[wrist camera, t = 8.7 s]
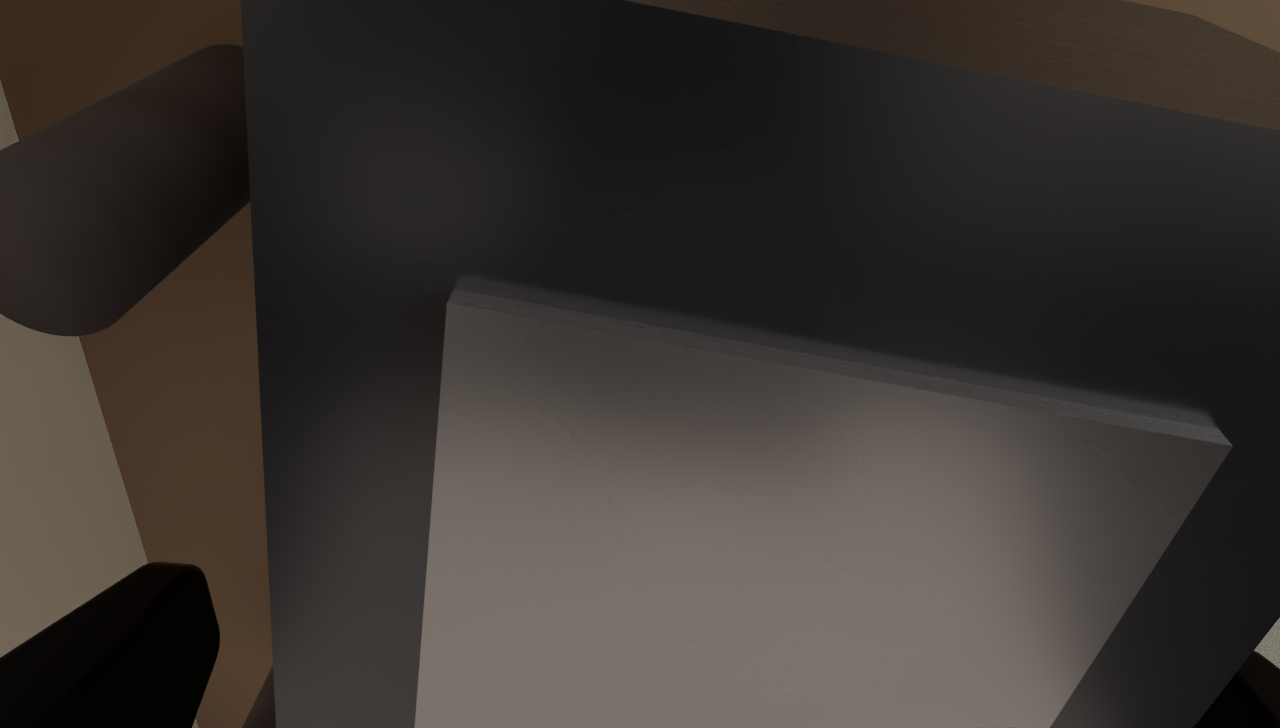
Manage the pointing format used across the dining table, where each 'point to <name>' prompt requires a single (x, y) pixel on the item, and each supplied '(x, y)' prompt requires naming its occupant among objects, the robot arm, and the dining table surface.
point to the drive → (763, 361)
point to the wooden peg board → (180, 274)
